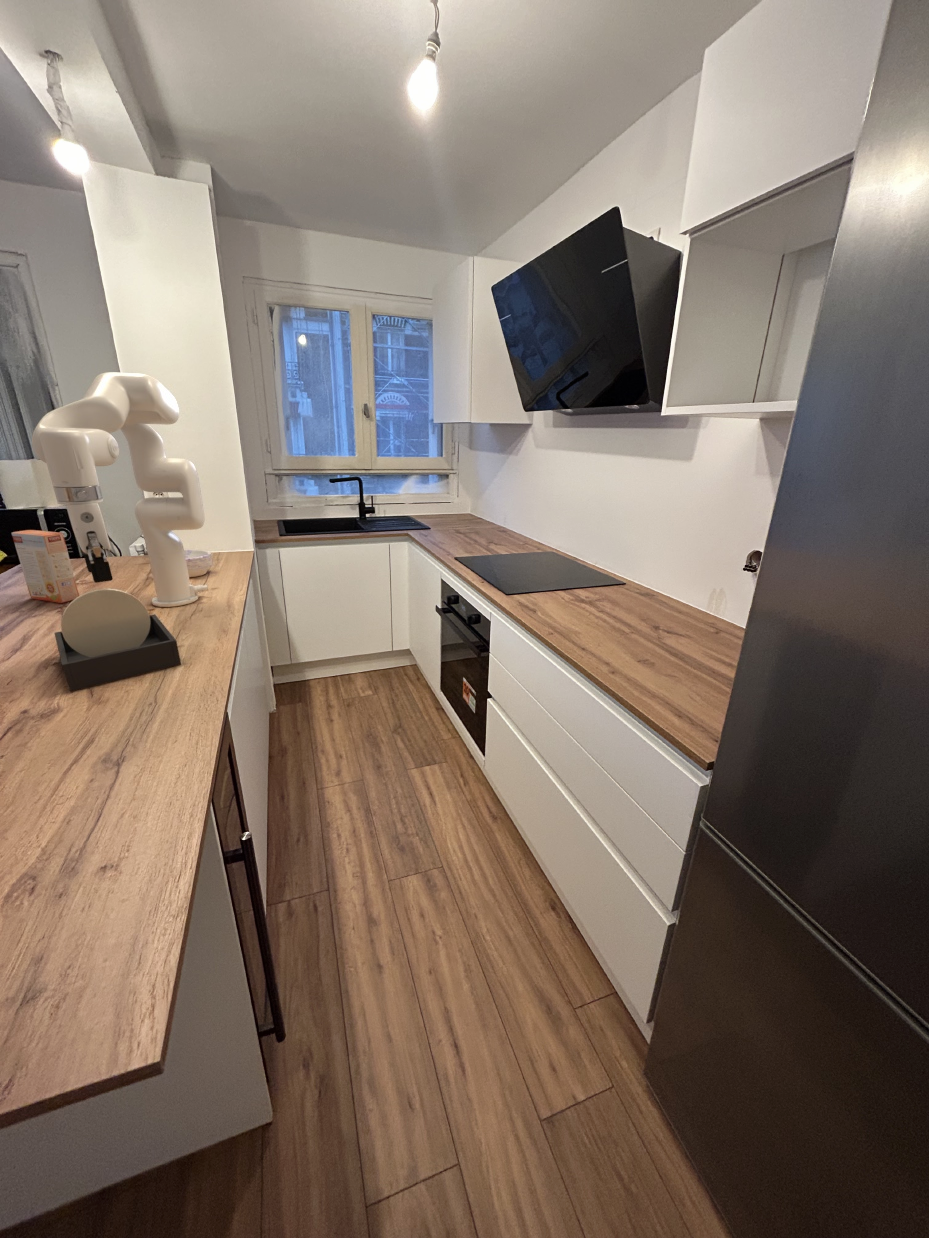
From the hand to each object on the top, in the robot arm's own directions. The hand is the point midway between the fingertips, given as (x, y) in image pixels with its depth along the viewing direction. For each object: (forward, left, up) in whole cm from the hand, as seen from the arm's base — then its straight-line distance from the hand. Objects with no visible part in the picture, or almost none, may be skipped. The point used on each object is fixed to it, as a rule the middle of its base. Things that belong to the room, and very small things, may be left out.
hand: (100, 576), depth 104 cm
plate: (0, 0, -19) cm, 19 cm away
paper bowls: (-32, -71, -20) cm, 80 cm away
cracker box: (+8, -65, -20) cm, 68 cm away
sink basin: (0, 0, -20) cm, 20 cm away
